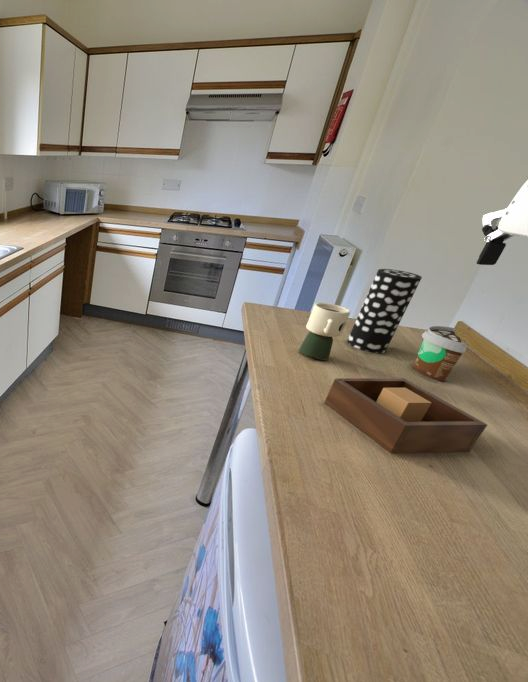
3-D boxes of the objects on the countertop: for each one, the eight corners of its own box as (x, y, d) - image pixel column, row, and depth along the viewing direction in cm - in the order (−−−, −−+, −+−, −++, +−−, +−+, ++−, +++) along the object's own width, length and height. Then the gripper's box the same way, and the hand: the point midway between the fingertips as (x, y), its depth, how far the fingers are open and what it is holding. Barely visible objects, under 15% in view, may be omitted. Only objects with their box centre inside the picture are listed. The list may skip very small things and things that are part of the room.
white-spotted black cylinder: (340, 341, 111) (370, 270, 103) (358, 337, 114) (389, 267, 106) (374, 355, 104) (410, 279, 96) (392, 350, 108) (429, 277, 99)
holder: (391, 402, 84) (404, 378, 82) (469, 451, 71) (487, 424, 68) (323, 402, 83) (334, 378, 80) (390, 453, 69) (405, 425, 67)
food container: (403, 357, 104) (422, 321, 100) (435, 364, 101) (456, 327, 97) (409, 375, 95) (430, 337, 91) (445, 384, 92) (468, 345, 88)
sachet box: (391, 413, 79) (405, 387, 76) (415, 430, 74) (431, 402, 72) (369, 414, 78) (383, 387, 76) (393, 430, 74) (408, 402, 71)
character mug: (331, 368, 96) (354, 318, 91) (296, 360, 100) (316, 311, 94) (327, 351, 105) (347, 304, 99) (295, 344, 108) (313, 298, 103)
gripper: (684, 169, 56) (602, 288, 64) (533, 164, 72) (480, 259, 79) (637, 167, 56) (559, 287, 63) (495, 162, 71) (445, 258, 79)
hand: (515, 271), depth 71 cm, fingers open, 9 cm apart
